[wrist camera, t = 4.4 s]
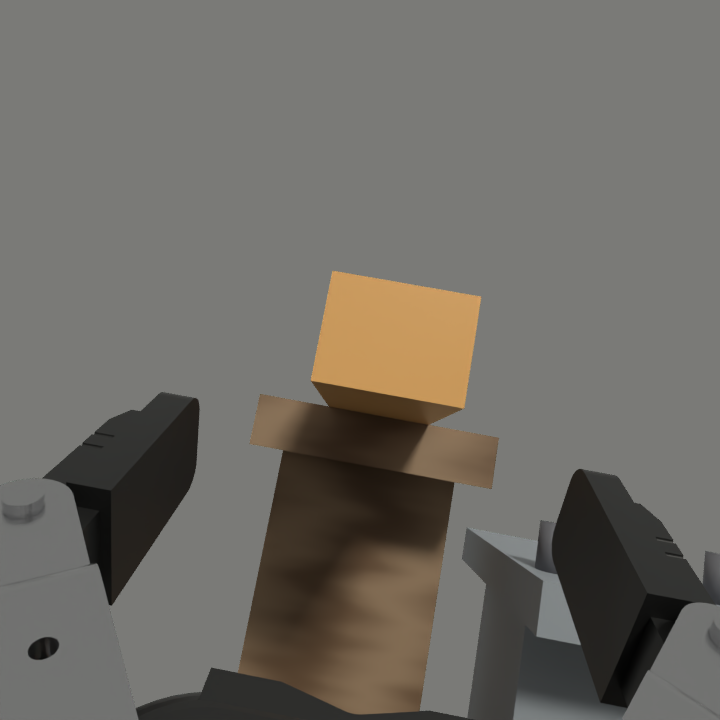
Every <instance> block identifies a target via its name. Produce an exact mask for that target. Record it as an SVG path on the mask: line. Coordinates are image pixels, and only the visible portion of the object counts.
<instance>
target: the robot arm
mask: <svg viewBox="0 0 720 720" xmlns="http://www.w3.org/2000/svg"><path fill="white" fill-rule="evenodd" d="M198 426H199V402H198V399H196V398H192V397H187V396H181V395H175V394H169V393H164V392H161V393H160V394H158V395H157V396H156V397H155V398H154V399H153V400H152V401H151V402H150V403H149V404H148V405H147V406H146V407H145V408H144V409H143V410H142V411H135V410H130V411H128V412H125V413H123V414H121V415H118V416H116V417H113V418H111V419H109V420H108V421H107V422H106V423H105V424H103V425H102V426H101V427H100V428H99V429H98V430H97V431H95V434H94V435H91V436H90V437H89V438H88V439H86V440H85V441H84V442H83V444H82V446H78V447H77V448H76V449H75V450H74V451H73V452H72V453H70V454H69V455H68V456H67V457H66V458H65V459H64V460H63V461H61V462H60V463H59V464H58V465H57V466H56V467H54V468H53V469H52V470H51V471H50V472H49V473H48V474H47V475H45V476H44V477H43V478H42V479H41V478H35V479H33V478H32V479H22V480H16V481H12V482H8V483H5V484H2V485H0V720H474V719H469V718H463V717H458V716H453V715H448V714H443V713H438V712H433V711H416V712H397V713H379V714H352V713H349V712H346V711H344V710H342V709H339V708H337V707H335V706H333V705H331V704H329V703H327V702H324V701H322V700H320V699H318V698H316V697H314V696H312V695H309V694H307V693H305V692H303V691H301V690H299V689H296V688H294V687H292V686H290V685H288V684H286V683H284V682H281V681H276V680H271V679H266V678H261V677H256V676H251V675H246V674H241V673H235V672H230V671H225V670H220V669H215V668H211V670H210V672H209V675H208V677H207V680H206V682H205V685H204V688H203V690H202V692H197V693H187V694H181V695H175V696H170V697H167V698H163V699H160V700H156V701H153V702H150V703H148V704H145V705H143V706H140V707H138V708H135V704H134V701H133V696H132V693H131V689H130V685H129V681H128V678H127V674H126V669H125V666H124V662H123V658H122V654H121V650H120V646H119V642H118V639H117V635H116V631H115V627H114V623H113V620H112V616H111V612H110V608H109V605H112V604H113V603H114V601H115V600H116V598H117V597H118V595H119V594H120V592H121V591H122V589H123V588H124V586H125V585H126V583H127V582H128V580H129V579H130V577H131V576H132V574H133V573H134V571H135V570H136V568H137V567H138V565H139V564H140V562H141V561H142V559H143V558H144V556H145V555H146V553H147V552H148V550H149V549H150V547H151V546H152V544H153V543H154V541H155V539H156V538H157V537H158V535H159V534H160V532H161V531H162V529H163V528H164V526H165V525H166V523H167V522H168V520H169V519H170V517H171V516H172V514H173V513H174V511H175V510H176V508H177V507H178V505H179V504H180V502H181V501H182V499H183V498H184V496H185V495H186V493H187V492H188V490H189V488H190V486H191V483H192V481H193V477H194V473H195V469H196V460H197V443H198ZM552 558H553V563H554V566H555V569H556V572H557V575H558V578H559V581H560V584H561V587H562V590H563V593H564V596H565V599H566V602H567V605H568V608H569V611H570V614H571V617H572V620H573V623H574V626H575V629H576V632H577V635H578V638H579V641H580V644H581V647H582V650H583V653H584V656H585V659H586V662H587V665H588V668H589V671H590V674H591V677H592V680H593V683H594V686H595V689H596V692H597V695H598V698H599V701H600V703H604V704H609V705H614V706H619V707H625V708H627V710H626V712H625V714H624V716H623V718H622V720H720V606H717V605H716V604H715V603H714V601H713V600H712V598H711V597H710V595H709V594H708V592H707V591H706V589H705V588H704V586H703V585H702V583H701V581H700V580H699V578H698V577H697V575H696V574H695V572H694V571H693V569H692V568H691V566H690V565H689V563H688V562H687V560H686V559H683V554H682V553H681V551H680V550H679V548H678V547H677V545H676V544H674V543H673V539H672V537H671V536H670V534H669V533H668V531H667V530H666V528H665V527H664V525H663V524H662V522H661V521H660V520H659V519H657V518H656V517H655V516H653V514H651V513H650V512H649V511H648V510H647V509H646V508H644V507H643V506H642V505H641V504H637V503H634V502H633V500H632V499H631V497H630V495H629V494H628V492H627V490H626V489H625V487H624V486H623V484H622V483H621V481H620V479H619V478H618V477H617V476H615V475H610V474H605V473H599V472H593V471H588V470H583V469H578V470H577V471H576V472H575V473H574V474H573V476H572V479H571V481H570V484H569V487H568V490H567V493H566V496H565V499H564V502H563V505H562V508H561V511H560V514H559V517H558V520H557V523H556V526H555V529H554V532H553V537H552Z"/></svg>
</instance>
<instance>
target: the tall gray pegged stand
mask: <svg viewBox="0 0 720 720" xmlns="http://www.w3.org/2000/svg"><path fill="white" fill-rule="evenodd" d="M555 526H556V523H554V522H548V521H542V520H541V521H540V530H539V537H538V541H535V540H530V539H525V538H519V537H514V536H509V535H504V534H498V533H493V532H488V531H482V530H477V529H472V528H467V529H466V537H465V543H464V550H463V556H462V559H463V560H464V561H465V562H466V563H467V564H468V566H469V567H470V568H471V569H472V570H473V571H474V572H475V573H476V574H477V575H478V576H479V577H480V578H481V579H482V580H483V581H484V582H485V583H486V589H485V596H484V604H483V611H482V618H481V625H480V632H479V639H478V646H477V654H476V661H475V668H474V675H473V682H472V689H471V696H470V704H469V711H468V718H469V719H474V720H622V718H623V716H624V714H625V712H626V710H627V708H625V707H619V706H614V705H609V704H604V703H600V701H599V698H598V695H597V692H596V689H595V686H594V683H593V680H592V677H591V674H590V671H589V668H588V665H587V662H586V659H585V656H584V653H583V650H582V647H581V644H580V641H579V638H578V635H577V632H576V629H575V626H574V623H573V620H572V617H571V614H570V611H569V608H568V605H567V602H566V599H565V596H564V593H563V590H562V587H561V584H560V581H559V578H558V575H557V572H556V569H555V566H554V563H553V558H552V537H553V532H554V529H555ZM703 586H704V588H705V589H706V591H707V592H708V594H709V595H710V597H711V598H712V600H713V601H714V603H715V604H716V605H717V606H720V554H717V553H713V552H707V551H705V562H704V575H703Z"/></svg>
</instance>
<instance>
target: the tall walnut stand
mask: <svg viewBox="0 0 720 720" xmlns="http://www.w3.org/2000/svg"><path fill="white" fill-rule="evenodd" d="M498 440H499V438H497V437H491V436H486V435H481V434H475V433H470V432H464V431H459V430H453V429H448V428H443V427H437V426H431V425H426V424H421V423H415V422H410V421H404V420H399V419H394V418H388V417H383V416H377V415H372V414H366V413H361V412H355V411H350V410H344V409H339V408H334V407H328V406H323V405H317V404H312V403H306V402H301V401H295V400H290V399H285V398H279V397H274V396H268V395H263V394H260V397H259V402H258V407H257V411H256V416H255V421H254V425H253V430H252V435H251V439H250V444H253V445H259V446H264V447H270V448H275V449H280V450H283V454H282V459H281V464H280V468H279V473H278V479H277V483H276V488H275V493H274V498H273V503H272V508H271V513H270V518H269V523H268V527H267V533H266V537H265V542H264V548H263V552H262V557H261V562H260V567H259V572H258V577H257V581H256V587H255V591H254V596H253V601H252V606H251V611H250V617H249V621H248V626H247V631H246V636H245V641H244V645H243V651H242V655H241V660H240V665H239V670H238V673H241V674H246V675H251V676H256V677H261V678H266V679H271V680H276V681H281V682H284V683H286V684H288V685H290V686H292V687H294V688H296V689H299V690H301V691H303V692H305V693H307V694H309V695H312V696H314V697H316V698H318V699H320V700H322V701H324V702H327V703H329V704H331V705H333V706H335V707H337V708H339V709H342V710H344V711H346V712H349V713H352V714H379V713H397V712H416V711H419V710H420V704H421V697H422V691H423V684H424V678H425V671H426V664H427V658H428V652H429V645H430V639H431V632H432V625H433V619H434V612H435V606H436V599H437V593H438V586H439V579H440V573H441V567H442V560H443V553H444V547H445V540H446V533H447V527H448V521H449V514H450V507H451V501H452V495H453V488H454V482H457V483H462V484H467V485H473V486H478V487H483V488H489V489H492V482H493V475H494V468H495V461H496V454H497V447H498Z"/></svg>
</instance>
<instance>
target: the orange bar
mask: <svg viewBox="0 0 720 720" xmlns="http://www.w3.org/2000/svg"><path fill="white" fill-rule="evenodd" d="M480 302H481V297H480V296H474V295H468V294H463V293H457V292H451V291H445V290H439V289H434V288H428V287H423V286H417V285H410V284H405V283H400V282H394V281H388V280H382V279H377V278H371V277H365V276H360V275H354V274H348V273H343V272H337V271H333V272H332V277H331V282H330V287H329V292H328V297H327V302H326V307H325V312H324V317H323V322H322V327H321V333H320V337H319V342H318V347H317V352H316V357H315V362H314V367H313V372H312V377H311V382H312V383H313V384H314V386H315V387H316V389H317V390H318V391H319V393H320V394H321V396H322V397H323V399H324V400H325V401H326V403H327V404H328V406H329V407H334V408H339V409H344V410H350V411H355V412H361V413H366V414H372V415H377V416H383V417H388V418H394V419H399V420H404V421H410V422H415V423H421V424H426V425H429V424H431V423H434V422H436V421H438V420H440V419H442V418H444V417H447V416H449V415H451V414H453V413H455V412H457V411H460V410H462V409H464V406H465V400H466V393H467V387H468V379H469V373H470V367H471V360H472V354H473V347H474V341H475V334H476V327H477V321H478V315H479V308H480Z"/></svg>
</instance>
